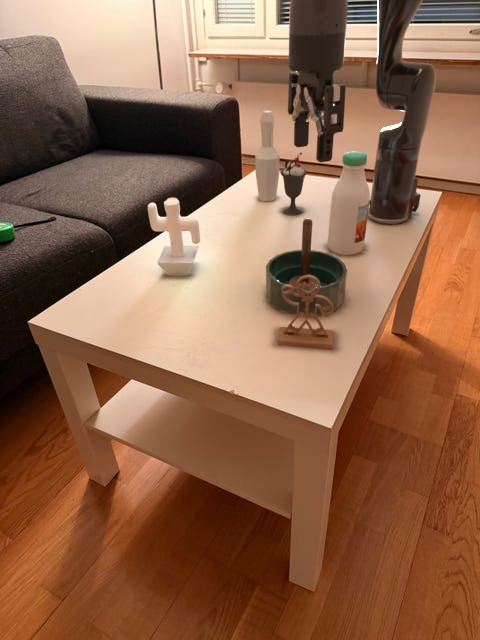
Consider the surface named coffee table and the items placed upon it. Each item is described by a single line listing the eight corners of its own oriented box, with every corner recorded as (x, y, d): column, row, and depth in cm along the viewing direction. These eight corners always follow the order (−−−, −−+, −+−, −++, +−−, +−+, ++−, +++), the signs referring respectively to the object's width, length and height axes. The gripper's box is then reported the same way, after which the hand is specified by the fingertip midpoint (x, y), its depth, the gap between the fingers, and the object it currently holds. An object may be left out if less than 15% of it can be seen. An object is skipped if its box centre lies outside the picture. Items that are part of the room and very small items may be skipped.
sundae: (304, 216, 115) (307, 155, 106) (278, 215, 116) (278, 154, 107) (307, 206, 120) (310, 147, 111) (281, 205, 121) (282, 146, 113)
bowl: (323, 271, 93) (325, 244, 89) (357, 309, 82) (361, 280, 78) (256, 284, 90) (255, 257, 86) (282, 325, 79) (282, 295, 75)
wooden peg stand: (311, 283, 88) (316, 209, 79) (324, 298, 84) (330, 222, 75) (284, 289, 87) (285, 214, 78) (295, 304, 82) (298, 227, 74)
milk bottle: (342, 259, 97) (351, 162, 85) (320, 245, 102) (326, 152, 91) (371, 250, 99) (384, 155, 88) (348, 236, 105) (358, 146, 93)
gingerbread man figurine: (333, 334, 76) (339, 271, 69) (332, 349, 73) (339, 284, 66) (279, 330, 77) (280, 267, 70) (276, 345, 74) (277, 280, 67)
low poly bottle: (257, 193, 129) (255, 108, 116) (279, 194, 128) (281, 108, 115) (254, 202, 124) (252, 114, 111) (278, 202, 123) (279, 114, 110)
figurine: (200, 279, 92) (193, 207, 83) (154, 279, 93) (142, 208, 84) (205, 261, 98) (199, 193, 89) (161, 261, 99) (151, 193, 90)
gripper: (370, 30, 57) (356, 163, 66) (320, 24, 68) (315, 139, 77) (313, 35, 55) (308, 170, 65) (272, 28, 66) (272, 144, 76)
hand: (311, 153), depth 71 cm, fingers open, 8 cm apart
